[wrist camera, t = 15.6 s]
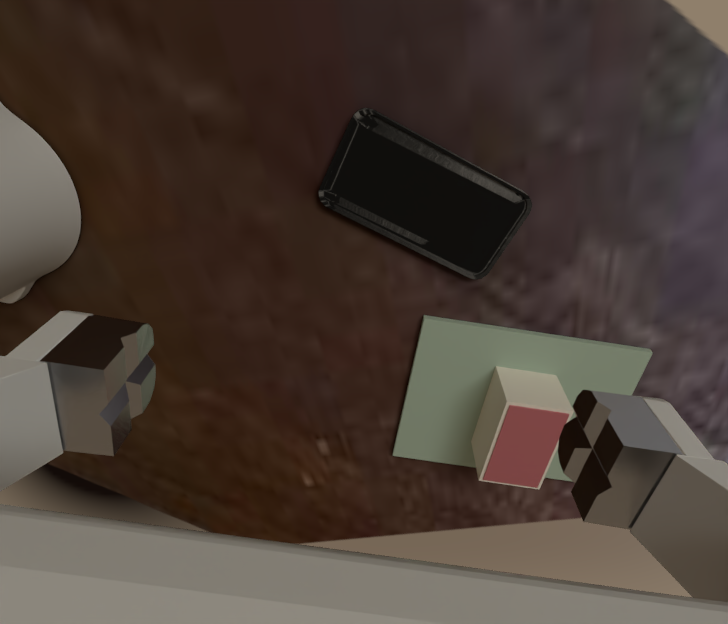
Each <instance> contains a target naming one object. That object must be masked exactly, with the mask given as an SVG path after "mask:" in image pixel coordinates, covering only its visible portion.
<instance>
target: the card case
mask: <svg viewBox="0 0 728 624" xmlns="http://www.w3.org/2000/svg"><path fill="white" fill-rule="evenodd" d="M573 412H574V411H573V409H572V407H571V404H570V402H569V400H568V398H567V396H566V394H565V392H564V390H563V388H562V386H561V384H560V382H559V380H558V378H557V376H556V375H552V374H545V373H539V372H532V371H525V370H519V369H512V368H505V367H499V366H496V367H495V370H494V373H493V376H492V379H491V382H490V385H489V388H488V391H487V394H486V397H485V400H484V403H483V407H482V410H481V413H480V416H479V419H478V422H477V425H476V428H475V431H474V434H473V437H472V440H471V444H472V449H473V454H474V459H475V464H476V469H477V474H478V480H479V481H485V482H492V483H499V484H506V485H512V486H519V487H526V488H533V489H540V487H541V484H542V482H543V480H544V478H545V475H546V473H547V471H548V469H549V466H550V464H551V462H552V460H553V457H554V455H555V453H556V451H557V448H558V445H559V437H560V434H561V432H562V429H563V427H564V424H566V423H567V422H569V421H570V419H571V417H572V414H573Z"/></svg>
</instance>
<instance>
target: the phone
mask: <svg viewBox="0 0 728 624" xmlns="http://www.w3.org/2000/svg"><path fill="white" fill-rule="evenodd" d="M319 198H320V201H321V202H322V203H323V205H325V206H326V207H328V208H330V209H332V210H334V211H336V212H338V213H340V214H342V215H344V216H346V217H348V218H350V219H352V220H354V221H356V222H358V223H360V224H362V225H364V226H366V227H368V228H370V229H372V230H374V231H376V232H378V233H380V234H382V235H384V236H386V237H388V238H390V239H392V240H394V241H396V242H398V243H400V244H402V245H404V246H406V247H408V248H410V249H412V250H414V251H416V252H418V253H420V254H422V255H424V256H426V257H428V258H430V259H432V260H434V261H436V262H438V263H440V264H442V265H444V266H446V267H448V268H450V269H452V270H454V271H456V272H458V273H460V274H462V275H464V276H466V277H468V278H471V279H480V278H483V277H484V276H486V275H487V274H488V273H489V272H490V270H491V269H492V267H493V266H494V264H495V263H496V261H497V260H498V258H499V257H500V256H501V254H502V253H503V251H504V250H505V248H506V247H507V245H508V244H509V242H510V241H511V240H512V238H513V237H514V235H515V234H516V232H517V231H518V229H519V228H520V226H521V225H522V224H523V222H524V221H525V219H526V218H527V216H528V215H529V213H530V211H531V208H532V203H531V199H530V198H529V196H528V195H527V194H526V193H525V192H524V191H522V190H520V189H519V188H517V187H515V186H513V185H511V184H509V183H507V182H506V181H504V180H502V179H500V178H498V177H496V176H495V175H493V174H491V173H489V172H487V171H485V170H484V169H482V168H480V167H478V166H476V165H474V164H473V163H471V162H469V161H467V160H465V159H463V158H462V157H460V156H458V155H456V154H454V153H452V152H450V151H449V150H447V149H445V148H443V147H441V146H439V145H438V144H436V143H434V142H432V141H430V140H428V139H427V138H425V137H423V136H421V135H419V134H417V133H416V132H414V131H412V130H410V129H408V128H406V127H405V126H403V125H401V124H399V123H397V122H395V121H394V120H392V119H390V118H388V117H386V116H384V115H382V114H381V113H379V112H377V111H375V110H373V109H370V108H363V109H360V110H358V111H357V112H356V113H355V114H354V115H353V117H352V119H351V121H350V123H349V125H348V127H347V129H346V132H345V134H344V136H343V138H342V140H341V142H340V145H339V147H338V149H337V151H336V153H335V156H334V158H333V160H332V162H331V164H330V166H329V169H328V171H327V173H326V175H325V177H324V179H323V182H322V184H321V186H320V189H319Z"/></svg>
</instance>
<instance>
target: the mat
mask: <svg viewBox="0 0 728 624" xmlns="http://www.w3.org/2000/svg"><path fill="white" fill-rule="evenodd" d="M652 353H653V352H652V351H651V350H650V349H646V348H640V347H633V346H626V345H620V344H613V343H606V342H600V341H593V340H586V339H580V338H573V337H566V336H560V335H553V334H546V333H540V332H533V331H526V330H520V329H513V328H506V327H500V326H493V325H486V324H480V323H473V322H466V321H460V320H453V319H446V318H440V317H433V316H426V315H424V317H423V321H422V325H421V330H420V334H419V339H418V343H417V347H416V352H415V356H414V360H413V365H412V369H411V374H410V378H409V382H408V387H407V391H406V396H405V400H404V404H403V409H402V413H401V417H400V422H399V426H398V431H397V435H396V439H395V444H394V448H393V456H398V457H405V458H412V459H419V460H426V461H433V462H440V463H447V464H454V465H461V466H468V467H475V468H476V464H475V459H474V454H473V449H472V444H471V440H472V437H473V434H474V431H475V428H476V425H477V422H478V419H479V416H480V413H481V410H482V407H483V403H484V400H485V397H486V394H487V391H488V388H489V385H490V382H491V379H492V376H493V373H494V370H495V367H496V366H499V367H505V368H512V369H519V370H525V371H532V372H539V373H545V374H552V375H556V376H557V378H558V380H559V382H560V384H561V386H562V388H563V390H564V392H565V394H566V396H567V398H568V400H569V402H570V404H571V407H572V409H573V404H574V402H575V400H576V398H577V396H578V395H579V394H580V392H581V391H582V390H591V391H599V392H607V393H614V394H622V395H630V396H631V395H632V393H633V391H634V389H635V387H636V385H637V383H638V381H639V379H640V377H641V375H642V373H643V371H644V369H645V367H646V365H647V363H648V361H649V359H650V357H651V355H652ZM573 411H574V409H573ZM575 417H576V414H575V412H573V414H572V417H571V419H570V420H572V419H573V418H575ZM545 478H551V479H558V480H565V481H572V480H571V479H570V478H569V477H567V476H566V475H565V474H564V473H563V470H562V468H561V465H560V463H559V456H558V448H557V451H556V453H555V455H554V457H553V460H552V462H551V464H550V466H549V469H548V471H547V473H546V475H545ZM572 482H573V481H572Z"/></svg>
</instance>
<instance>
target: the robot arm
mask: <svg viewBox="0 0 728 624" xmlns="http://www.w3.org/2000/svg"><path fill="white" fill-rule="evenodd" d="M80 228H81V212H80V205H79V200H78V196H77V193H76V190H75V187H74V185H73V182H72V180H71V178H70V176H69V174H68V172H67V170H66V168H65V167H64V165H63V163H62V162H61V160H60V159H59V157H58V156H57V155H56V153H55V152H54V151H53V149H52V148H51V147H50V146H49V145H48V144H47V142H46V141H45V140H44V139H43V138H42V137H41V136H40V135H39V134H38V133H36V132H35V131H34V130H33V129H32V128H31V127H29V126H28V125H27V124H26V123H24V122H23V121H22V120H20V119H19V118H18V117H16V116H15V115H14V114H13V113H11V112H10V111H9V110H8V109H7V108H6V107H5V106H4V105H3V104H2V103H1V102H0V302H4V303H14V302H16V301H18V300H20V299H22V298H24V297H25V296H26V295H27V293H28V292H29V291H30V289H31V287H32V286H33V284H34V282H35V281H36V280H37V279H38V278H40V277H41V276H43V275H45V274H47V273H49V272H51V271H53V270H55V269H57V268H58V267H60V266H61V265H62V264H63V263H64V262H65V261H66V260H67V259H68V258H69V257H70V255H71V254H72V252H73V251H74V249H75V247H76V244H77V242H78V239H79V234H80ZM153 345H154V340H153V329H152V328H151V327H150V325H149V324H147V323H141V322H135V321H129V320H123V319H118V318H112V317H106V316H100V315H93V314H89V313H81V312H74V311H60V312H59V313H58V314H57V315H55V316H54V317H53V318H52V319H51V320H49V321H48V322H47V323H46V324H44V325H43V326H42V327H41V328H40V329H38V330H37V331H36V332H35V333H33V334H32V335H31V336H30V337H29V338H27V339H26V340H25V341H24V342H22V343H21V344H20V345H19V346H18V347H16V348H15V349H14V350H13V351H11V352H10V353H9V354H8V355H7V356H0V491H2V490H4V489H5V488H7V487H9V486H10V485H12V484H13V483H15V482H17V481H18V480H20V479H22V478H23V477H25V476H26V475H28V474H30V473H31V472H33V471H35V470H36V469H38V468H40V467H41V466H43V465H44V464H46V463H48V462H49V461H51V460H53V459H54V458H56V457H58V456H59V455H61V454H62V453H63V450H64V451H72V452H81V453H90V454H99V455H108V456H114V455H115V454H116V452H117V451H118V449H119V448H120V446H121V445H122V443H123V442H124V440H125V439H126V437H127V436H128V434H129V433H130V431H131V430H132V429H131V418H133V417H135V416H137V415H139V414H141V413H143V411H144V410H145V408H146V407H147V405H148V403H149V401H150V398H151V395H152V392H153V390H154V384H155V376H156V374H155V364H154V362H153V361H152V360H151V359H150V357H149V356H148V355H147V353H148V352H149V350H150V349H151V348H152V346H153ZM573 409H574V412H575V414H576V417H575V418H573V419H572V420H570V421H569V422H567V423H566V424H564V427H563V429H562V432H561V434H560V437H559V445H558V456H559V463H560V465H561V468H562V470H563V473H564V474H565V475H566V476H567V477H569V478H570V479H571V480H572V481H573V482H574V483H575V485H574V487H573V489H572V491H571V493H572V495H573V497H574V500H575V502H576V505H577V507H578V509H579V512H580V514H581V517H582V519H583V521H584V522H589V523H595V524H601V525H606V526H613V527H619V528H624V529H630V532H631V533H632V535H633V536H634V537H636V538H637V540H638V541H639V542H640V543H641V544H642V545H643V546H644V547H645V548H646V549H647V550H648V551H649V552H650V553H651V554H652V555H653V556H654V557H655V558H656V559H657V561H658V562H659V563H660V564H661V565H662V566H663V567H664V568H665V569H666V570H667V571H668V572H669V573H670V574H671V575H672V576H673V577H674V578H675V579H676V580H677V581H678V582H679V583H680V584H681V586H682V587H684V589H685V590H686V591H687V592H688V593H689V594H690V595H691V596H692V597H693V598H692V597H684V596H676V595H669V594H661V593H654V592H646V591H639V590H631V589H623V588H616V587H609V586H602V585H594V584H587V583H580V582H573V581H566V580H558V579H551V578H544V577H536V576H529V575H522V574H514V573H507V572H500V571H493V570H485V569H478V568H471V567H463V566H456V565H448V564H441V563H433V562H426V561H419V560H411V559H404V558H396V557H389V556H382V555H374V554H366V553H359V552H351V551H344V550H337V549H329V548H322V547H314V546H307V545H299V544H292V543H284V542H277V541H269V540H262V539H255V538H247V537H240V536H232V535H225V534H217V533H210V532H202V531H195V530H188V529H180V528H173V527H165V526H158V525H150V524H143V523H135V522H128V521H120V520H113V519H106V518H98V517H91V516H83V515H76V514H69V513H62V512H54V511H47V510H39V509H32V508H24V507H16V506H10V505H2V504H0V624H728V464H727V463H725V462H724V461H719V460H714V459H713V457H712V456H711V455H710V454H709V452H708V451H707V450H706V448H705V447H704V446H703V445H702V443H701V442H700V441H699V440H698V438H697V437H696V436H695V435H694V433H693V432H692V431H691V429H690V428H689V427H688V426H687V424H686V423H685V422H684V421H683V419H682V418H681V417H680V416H679V414H678V413H677V412H676V410H675V409H674V408H673V407H672V405H671V404H670V403H669V402H667V401H665V400H663V399H659V398H650V397H641V396H630V395H622V394H614V393H607V392H599V391H591V390H582V391H581V392H580V394H579V395H578V396H577V398H576V400H575V402H574V404H573Z"/></svg>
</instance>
